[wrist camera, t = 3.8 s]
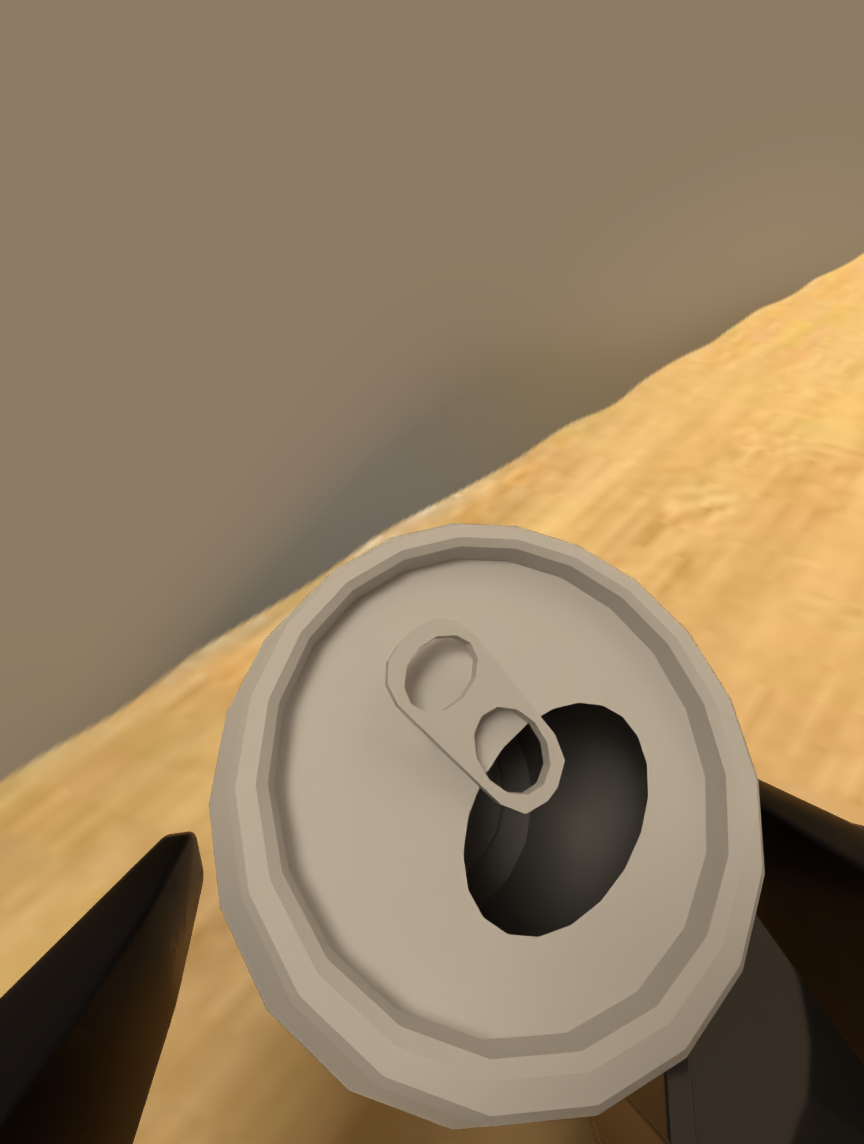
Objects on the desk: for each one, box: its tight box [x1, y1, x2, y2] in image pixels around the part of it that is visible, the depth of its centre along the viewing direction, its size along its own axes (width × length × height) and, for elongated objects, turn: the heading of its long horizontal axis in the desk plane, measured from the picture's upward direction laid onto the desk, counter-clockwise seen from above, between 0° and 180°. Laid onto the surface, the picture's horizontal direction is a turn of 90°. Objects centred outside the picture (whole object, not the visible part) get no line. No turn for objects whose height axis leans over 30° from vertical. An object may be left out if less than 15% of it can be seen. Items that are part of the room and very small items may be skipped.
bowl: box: [589, 823, 864, 1144], centre depth 11 cm, size 11×11×5 cm
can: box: [209, 523, 765, 1130], centre depth 10 cm, size 8×8×12 cm
